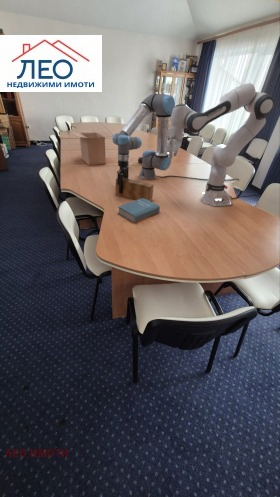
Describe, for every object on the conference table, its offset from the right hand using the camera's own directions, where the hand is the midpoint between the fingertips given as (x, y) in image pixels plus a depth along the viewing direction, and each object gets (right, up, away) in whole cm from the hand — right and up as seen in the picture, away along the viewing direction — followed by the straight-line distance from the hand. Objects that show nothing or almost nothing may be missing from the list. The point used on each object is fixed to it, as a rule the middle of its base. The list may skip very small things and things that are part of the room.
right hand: (172, 157), depth 148 cm
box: (-72, +33, +89) cm, 119 cm away
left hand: (-35, -18, +21) cm, 44 cm away
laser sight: (-13, +31, +92) cm, 98 cm away
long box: (-27, -22, +19) cm, 40 cm away
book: (-23, -38, -1) cm, 44 cm away
